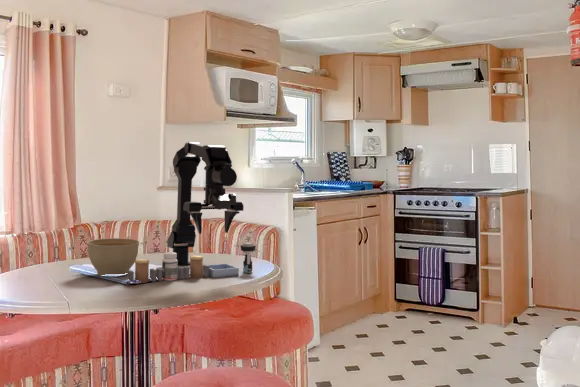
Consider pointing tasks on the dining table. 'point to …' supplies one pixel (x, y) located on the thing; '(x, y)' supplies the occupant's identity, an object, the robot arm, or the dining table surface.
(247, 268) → the push button
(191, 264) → the tan cylinder
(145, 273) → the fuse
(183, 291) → the dining table surface
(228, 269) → the tray
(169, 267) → the pill bottle
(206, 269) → the clip row
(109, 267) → the planter bowl
